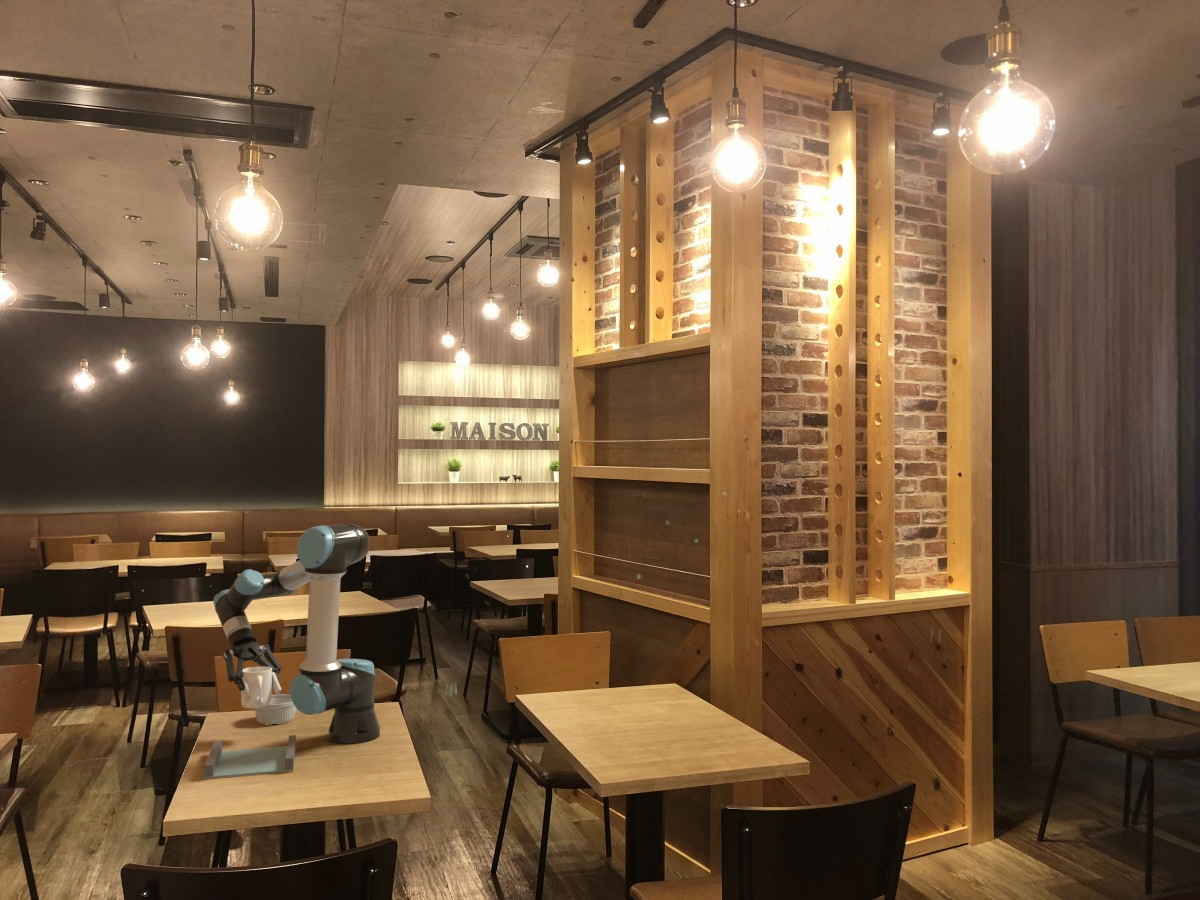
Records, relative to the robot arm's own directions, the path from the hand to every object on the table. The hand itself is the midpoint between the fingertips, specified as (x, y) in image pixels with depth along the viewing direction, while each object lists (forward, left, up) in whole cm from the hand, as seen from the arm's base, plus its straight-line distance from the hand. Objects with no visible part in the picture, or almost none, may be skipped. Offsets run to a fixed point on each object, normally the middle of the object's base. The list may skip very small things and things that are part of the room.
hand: (264, 695), depth 274 cm
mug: (+3, -1, -4) cm, 5 cm away
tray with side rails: (-8, +17, -14) cm, 23 cm away
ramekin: (+11, -22, -14) cm, 28 cm away
